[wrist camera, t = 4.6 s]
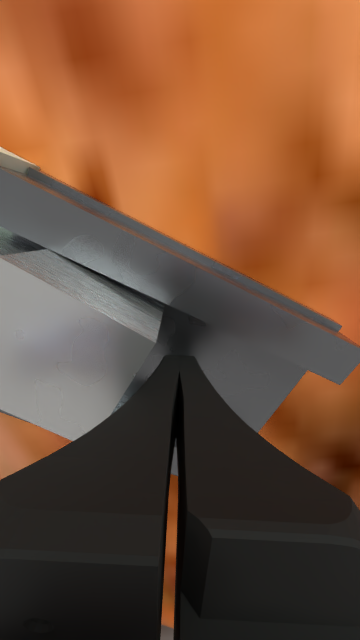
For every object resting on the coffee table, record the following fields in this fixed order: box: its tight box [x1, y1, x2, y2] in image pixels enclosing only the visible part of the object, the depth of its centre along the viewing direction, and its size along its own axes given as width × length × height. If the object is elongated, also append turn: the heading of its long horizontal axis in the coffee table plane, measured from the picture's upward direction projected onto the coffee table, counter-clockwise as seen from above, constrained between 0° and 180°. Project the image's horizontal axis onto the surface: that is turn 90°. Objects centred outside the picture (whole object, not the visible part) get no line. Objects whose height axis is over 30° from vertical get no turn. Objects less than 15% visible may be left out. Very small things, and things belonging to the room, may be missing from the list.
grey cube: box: [0, 249, 165, 441], centre depth 8 cm, size 4×4×4 cm
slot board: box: [0, 166, 360, 476], centre depth 10 cm, size 13×9×3 cm
